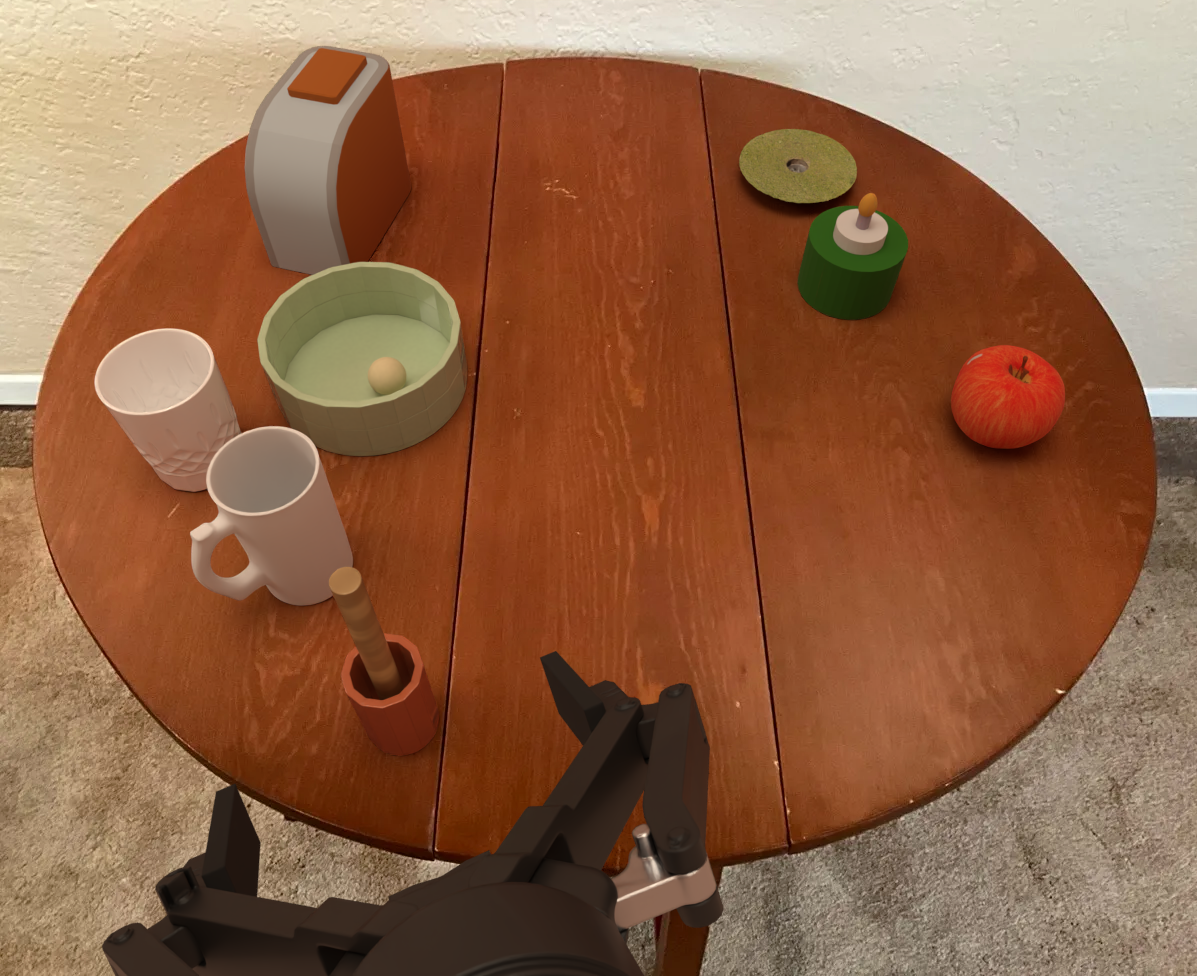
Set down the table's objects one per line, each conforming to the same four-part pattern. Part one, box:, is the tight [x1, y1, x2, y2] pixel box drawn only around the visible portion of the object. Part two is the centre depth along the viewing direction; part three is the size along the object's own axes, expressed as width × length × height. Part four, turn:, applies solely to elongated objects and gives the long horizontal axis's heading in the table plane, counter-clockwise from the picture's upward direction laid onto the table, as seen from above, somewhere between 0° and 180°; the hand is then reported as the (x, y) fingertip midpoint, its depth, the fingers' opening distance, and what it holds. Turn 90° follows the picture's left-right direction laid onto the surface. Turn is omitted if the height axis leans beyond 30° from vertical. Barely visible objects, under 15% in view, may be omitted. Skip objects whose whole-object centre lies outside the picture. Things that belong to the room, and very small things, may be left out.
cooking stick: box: [329, 567, 404, 700], centre depth 55 cm, size 2×2×18 cm
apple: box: [950, 344, 1066, 450], centre depth 73 cm, size 8×8×8 cm
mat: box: [738, 128, 858, 204], centre depth 93 cm, size 11×11×2 cm
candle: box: [796, 192, 909, 321], centre depth 82 cm, size 8×8×10 cm
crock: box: [340, 632, 440, 757], centre depth 59 cm, size 5×5×8 cm
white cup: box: [94, 327, 243, 493], centre depth 70 cm, size 8×8×10 cm
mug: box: [189, 425, 354, 607], centre depth 63 cm, size 10×7×12 cm, turn 138°
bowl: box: [256, 261, 468, 457], centre depth 76 cm, size 15×15×6 cm
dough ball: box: [368, 357, 406, 395], centre depth 76 cm, size 3×3×3 cm
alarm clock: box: [244, 45, 412, 276], centre depth 84 cm, size 15×8×14 cm, turn 164°
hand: (404, 746), depth 40 cm, fingers open, 13 cm apart
